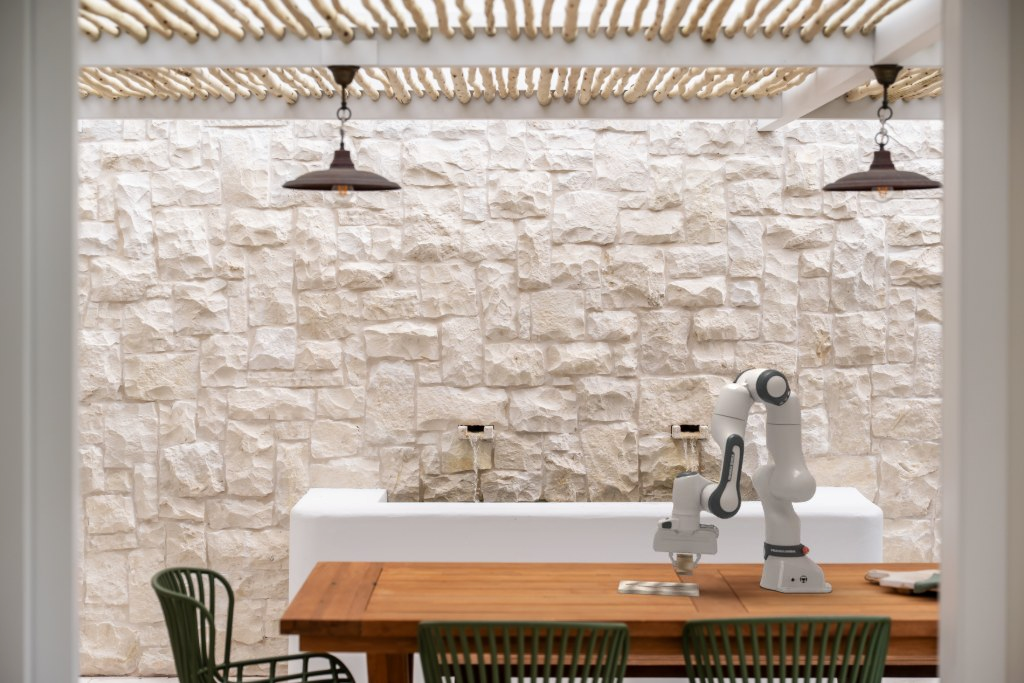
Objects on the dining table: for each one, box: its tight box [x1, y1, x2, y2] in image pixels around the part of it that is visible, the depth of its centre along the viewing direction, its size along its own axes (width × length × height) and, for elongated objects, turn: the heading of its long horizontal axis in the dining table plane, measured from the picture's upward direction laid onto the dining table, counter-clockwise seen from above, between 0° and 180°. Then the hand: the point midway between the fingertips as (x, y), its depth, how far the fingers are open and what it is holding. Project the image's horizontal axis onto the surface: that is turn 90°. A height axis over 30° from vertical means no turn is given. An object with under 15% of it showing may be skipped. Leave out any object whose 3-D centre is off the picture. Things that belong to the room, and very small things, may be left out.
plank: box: [617, 579, 700, 597], centre depth 352 cm, size 25×13×1 cm, turn 82°
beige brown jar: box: [675, 553, 694, 576], centre depth 350 cm, size 5×9×5 cm, turn 172°
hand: (684, 567), depth 350 cm, fingers closed on beige brown jar, 5 cm apart
